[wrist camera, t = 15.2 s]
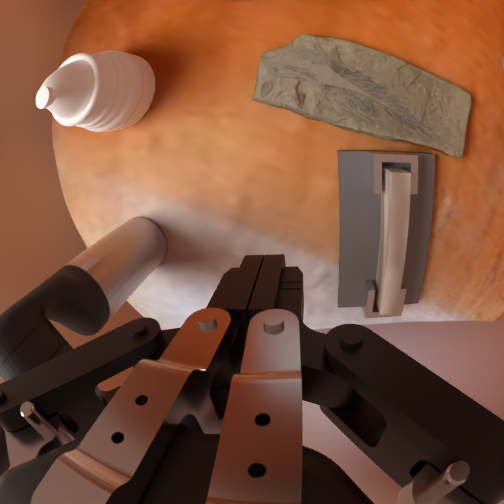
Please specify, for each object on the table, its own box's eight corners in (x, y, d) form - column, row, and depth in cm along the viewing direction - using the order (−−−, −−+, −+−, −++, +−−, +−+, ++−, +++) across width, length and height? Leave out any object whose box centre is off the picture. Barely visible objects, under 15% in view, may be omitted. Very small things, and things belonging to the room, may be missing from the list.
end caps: (362, 306, 43) (365, 318, 40) (368, 151, 33) (373, 153, 30) (396, 304, 41) (401, 315, 39) (409, 152, 31) (418, 155, 29)
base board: (337, 302, 45) (338, 307, 43) (337, 150, 35) (338, 151, 33) (415, 298, 42) (418, 303, 40) (430, 153, 32) (434, 154, 30)
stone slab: (262, 25, 27) (479, 87, 23) (267, 35, 30) (465, 89, 26) (248, 112, 32) (466, 169, 28) (255, 114, 36) (454, 165, 32)
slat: (374, 295, 41) (380, 314, 37) (380, 166, 33) (391, 172, 29) (388, 294, 41) (396, 313, 36) (398, 166, 33) (410, 172, 28)
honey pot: (171, 74, 34) (89, 57, 18) (128, 144, 39) (43, 166, 23) (117, 43, 32) (35, 27, 16) (82, 107, 37) (0, 118, 21)
